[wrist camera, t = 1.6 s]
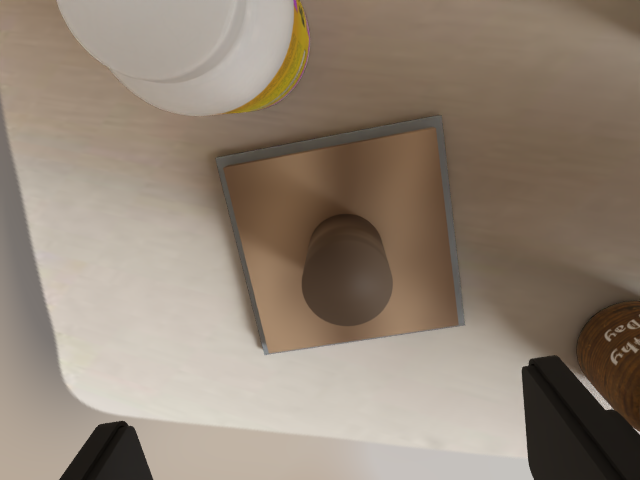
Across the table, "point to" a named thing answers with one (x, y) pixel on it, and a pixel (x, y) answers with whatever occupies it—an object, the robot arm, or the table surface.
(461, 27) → the table surface
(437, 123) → the mat
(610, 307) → the utensil holder
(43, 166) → the table surface
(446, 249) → the lid
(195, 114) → the supplement bottle
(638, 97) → the table surface
